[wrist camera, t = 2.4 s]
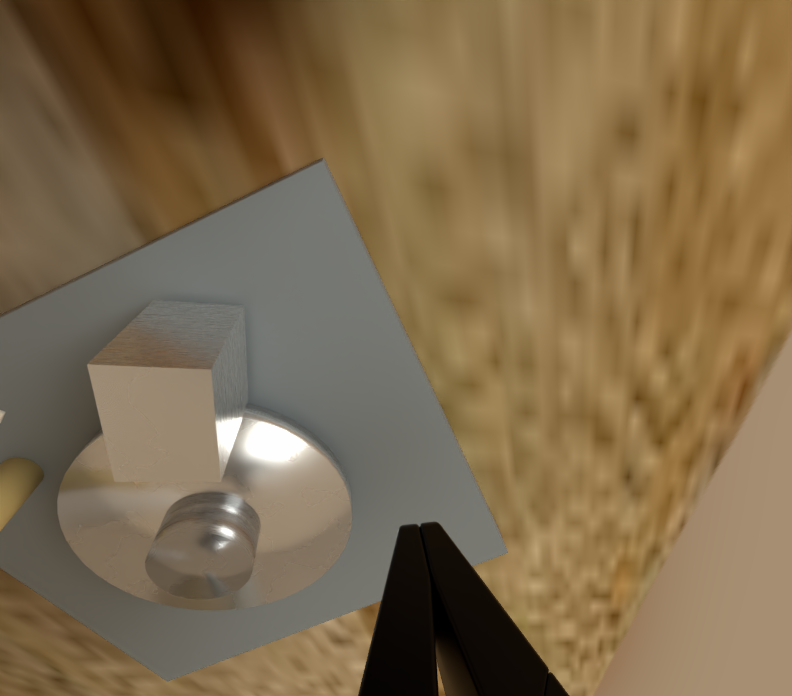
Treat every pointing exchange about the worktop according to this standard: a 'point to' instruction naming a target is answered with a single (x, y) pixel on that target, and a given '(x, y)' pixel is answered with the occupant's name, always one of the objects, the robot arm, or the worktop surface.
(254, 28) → the worktop surface
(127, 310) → the base board
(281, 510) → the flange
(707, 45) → the worktop surface
